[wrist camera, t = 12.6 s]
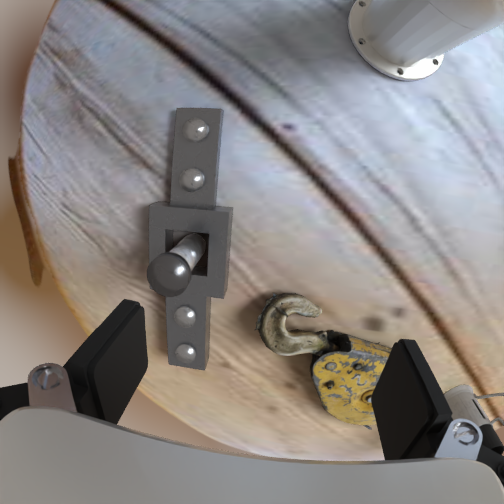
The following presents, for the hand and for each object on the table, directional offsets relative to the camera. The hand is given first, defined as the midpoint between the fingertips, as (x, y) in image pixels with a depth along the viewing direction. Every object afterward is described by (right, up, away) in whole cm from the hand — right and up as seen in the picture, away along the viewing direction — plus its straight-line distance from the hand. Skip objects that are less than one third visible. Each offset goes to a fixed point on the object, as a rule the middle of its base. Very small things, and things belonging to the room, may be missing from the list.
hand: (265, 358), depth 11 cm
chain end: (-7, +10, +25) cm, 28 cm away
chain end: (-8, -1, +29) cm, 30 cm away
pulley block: (+13, -11, +31) cm, 35 cm away
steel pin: (-7, +5, +27) cm, 28 cm away
